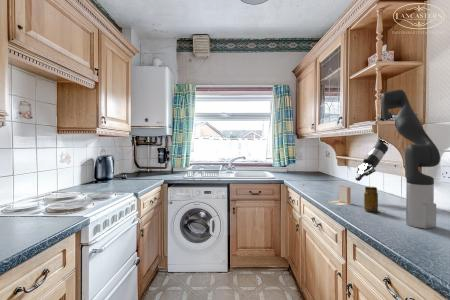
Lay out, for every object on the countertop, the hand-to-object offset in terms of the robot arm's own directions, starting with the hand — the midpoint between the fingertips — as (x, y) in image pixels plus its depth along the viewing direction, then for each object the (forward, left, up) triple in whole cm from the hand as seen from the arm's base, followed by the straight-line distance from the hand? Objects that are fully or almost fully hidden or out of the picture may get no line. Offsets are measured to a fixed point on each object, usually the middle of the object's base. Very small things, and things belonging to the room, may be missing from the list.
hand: (357, 179), depth 158 cm
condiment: (-20, +10, -13) cm, 26 cm away
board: (0, +12, -13) cm, 18 cm away
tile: (0, +9, -12) cm, 15 cm away
